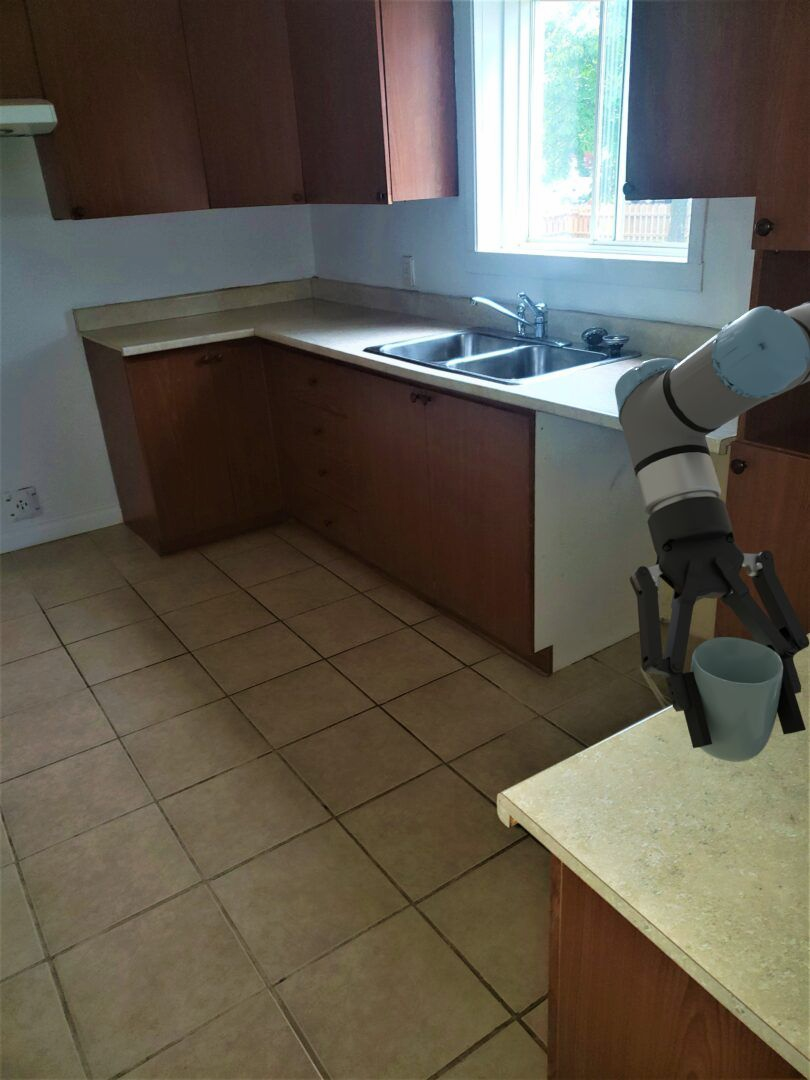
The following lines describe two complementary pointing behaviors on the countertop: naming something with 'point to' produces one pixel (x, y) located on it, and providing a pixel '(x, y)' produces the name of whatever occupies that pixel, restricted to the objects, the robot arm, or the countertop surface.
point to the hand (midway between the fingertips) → (748, 738)
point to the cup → (737, 695)
